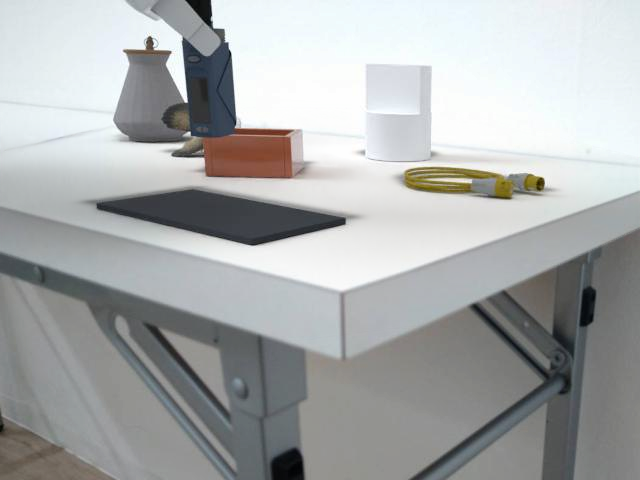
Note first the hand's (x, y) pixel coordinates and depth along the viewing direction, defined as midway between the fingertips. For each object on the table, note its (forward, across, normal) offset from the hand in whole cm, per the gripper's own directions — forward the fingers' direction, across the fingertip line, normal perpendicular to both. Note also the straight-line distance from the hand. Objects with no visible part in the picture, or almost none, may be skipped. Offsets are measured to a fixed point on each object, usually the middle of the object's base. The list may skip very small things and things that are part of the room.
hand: (214, 50), depth 59 cm
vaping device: (+4, 0, +5) cm, 7 cm away
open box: (+12, +25, +7) cm, 29 cm away
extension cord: (+27, +11, -8) cm, 30 cm away
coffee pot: (+3, +65, +16) cm, 67 cm away
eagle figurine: (+8, +42, +11) cm, 44 cm away
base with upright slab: (+26, +36, -7) cm, 45 cm away
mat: (+9, 0, +10) cm, 13 cm away
